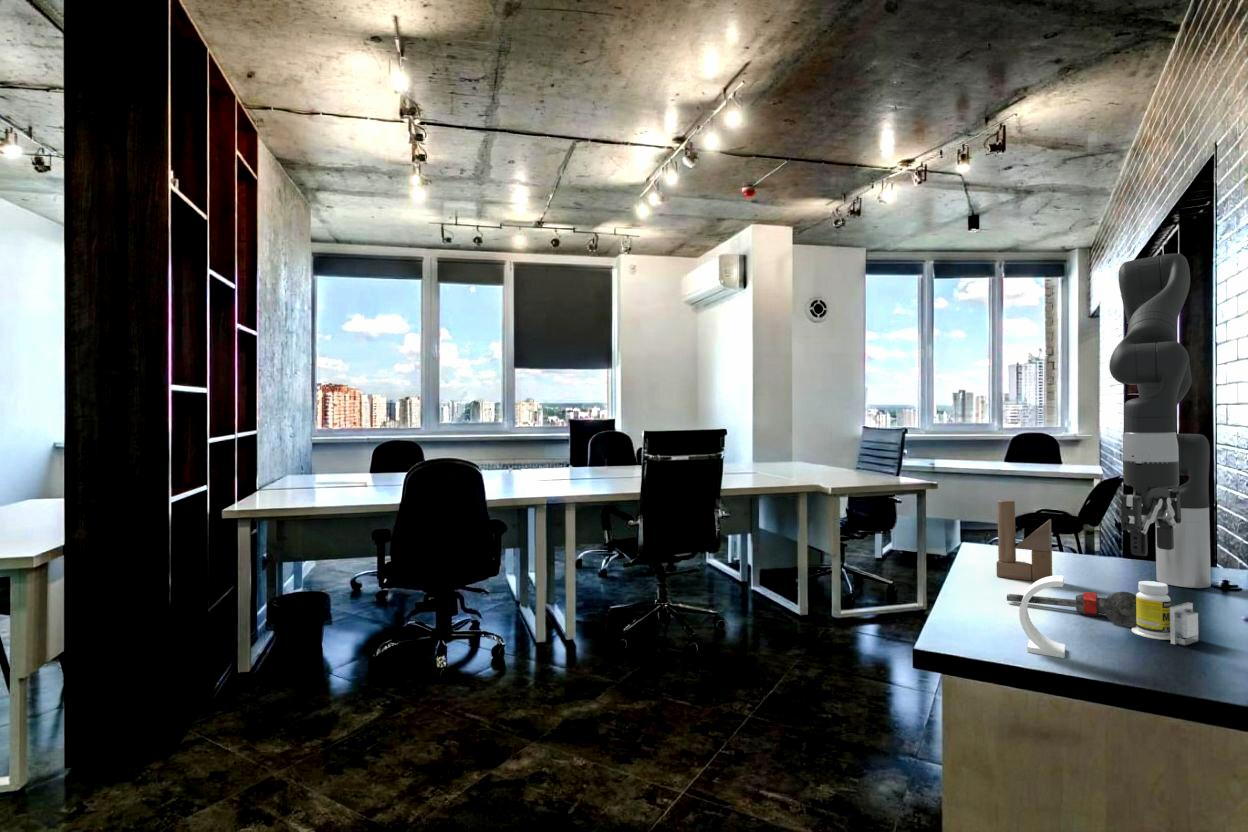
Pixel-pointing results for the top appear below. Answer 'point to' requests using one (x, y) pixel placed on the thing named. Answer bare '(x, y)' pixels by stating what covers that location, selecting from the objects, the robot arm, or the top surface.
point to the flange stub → (1183, 624)
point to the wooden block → (1022, 547)
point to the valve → (1094, 605)
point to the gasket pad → (1150, 635)
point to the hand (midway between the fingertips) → (1152, 552)
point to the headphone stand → (1036, 639)
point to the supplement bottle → (1153, 608)
